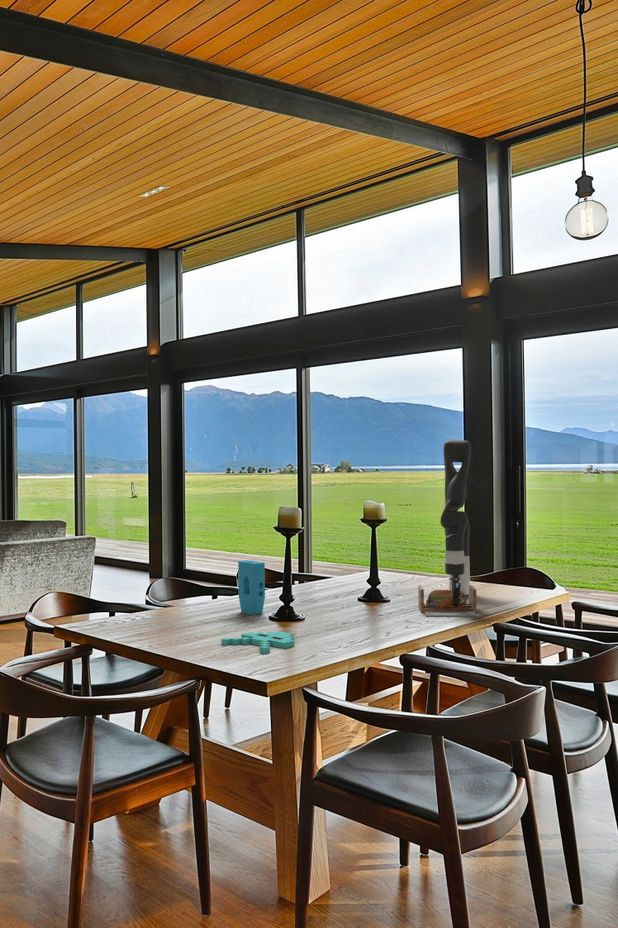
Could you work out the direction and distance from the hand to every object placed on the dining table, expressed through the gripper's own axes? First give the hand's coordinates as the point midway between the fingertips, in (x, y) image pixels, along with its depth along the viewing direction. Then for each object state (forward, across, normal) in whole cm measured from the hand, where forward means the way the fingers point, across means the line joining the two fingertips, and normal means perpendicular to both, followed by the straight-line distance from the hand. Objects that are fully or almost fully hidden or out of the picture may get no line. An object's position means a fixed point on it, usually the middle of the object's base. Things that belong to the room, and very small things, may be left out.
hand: (455, 605), depth 307 cm
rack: (+2, -2, -3) cm, 4 cm away
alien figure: (+2, +56, -69) cm, 89 cm away
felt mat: (+2, +8, -3) cm, 9 cm away
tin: (+2, 0, -3) cm, 4 cm away
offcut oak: (0, -4, -8) cm, 10 cm away
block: (+2, +4, -80) cm, 80 cm away
